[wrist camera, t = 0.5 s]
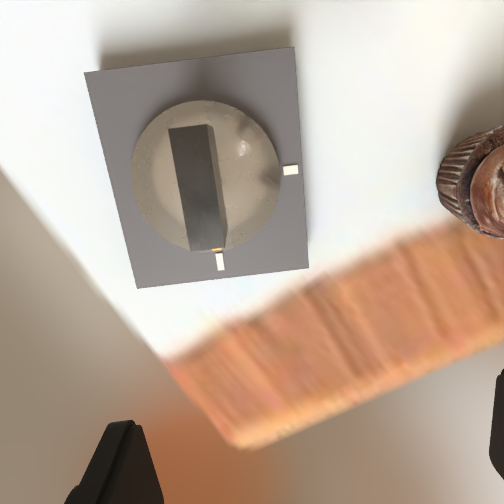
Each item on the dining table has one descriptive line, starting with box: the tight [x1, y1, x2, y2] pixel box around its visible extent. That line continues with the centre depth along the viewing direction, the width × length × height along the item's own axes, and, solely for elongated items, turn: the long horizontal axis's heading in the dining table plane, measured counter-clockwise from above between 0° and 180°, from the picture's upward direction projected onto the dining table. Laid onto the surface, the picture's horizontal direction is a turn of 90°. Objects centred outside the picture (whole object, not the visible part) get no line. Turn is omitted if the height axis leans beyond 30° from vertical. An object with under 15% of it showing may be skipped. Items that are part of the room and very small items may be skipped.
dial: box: [130, 100, 280, 252], centre depth 25 cm, size 12×12×6 cm
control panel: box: [84, 47, 309, 289], centre depth 29 cm, size 18×16×3 cm
